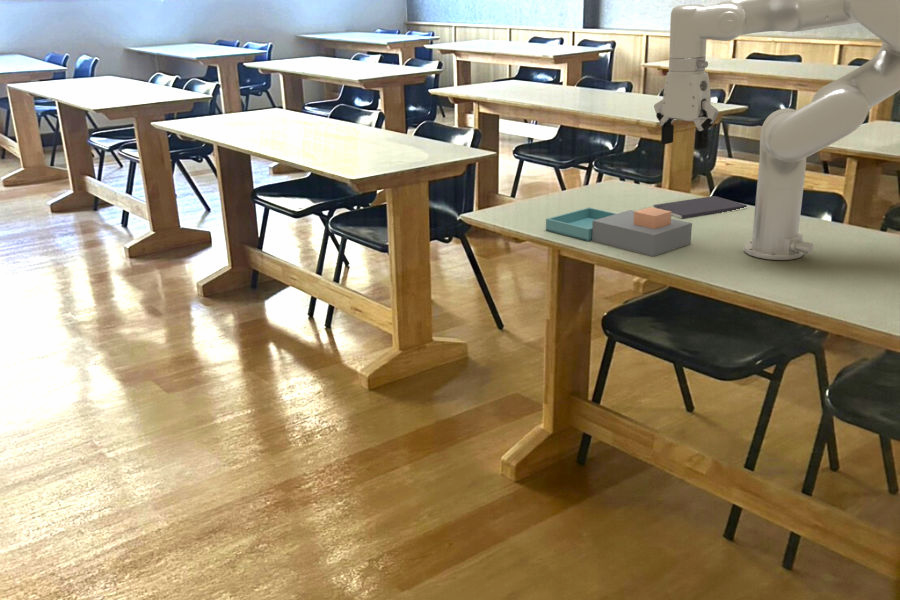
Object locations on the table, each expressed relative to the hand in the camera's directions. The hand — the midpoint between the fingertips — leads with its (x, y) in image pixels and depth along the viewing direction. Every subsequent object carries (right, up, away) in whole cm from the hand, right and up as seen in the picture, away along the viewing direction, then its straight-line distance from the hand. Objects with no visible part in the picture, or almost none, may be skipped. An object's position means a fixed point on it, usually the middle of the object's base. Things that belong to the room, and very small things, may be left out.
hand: (683, 145), depth 191 cm
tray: (-17, -16, +26) cm, 35 cm away
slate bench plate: (-6, -20, +14) cm, 25 cm away
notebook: (+16, -10, +42) cm, 46 cm away
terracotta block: (-5, -16, +10) cm, 20 cm away
